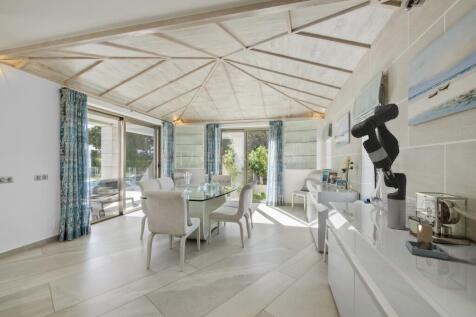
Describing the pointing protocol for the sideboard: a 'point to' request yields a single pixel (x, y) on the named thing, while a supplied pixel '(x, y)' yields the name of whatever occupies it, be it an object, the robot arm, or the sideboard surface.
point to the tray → (427, 251)
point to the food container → (415, 224)
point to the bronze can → (424, 237)
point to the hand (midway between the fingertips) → (395, 184)
